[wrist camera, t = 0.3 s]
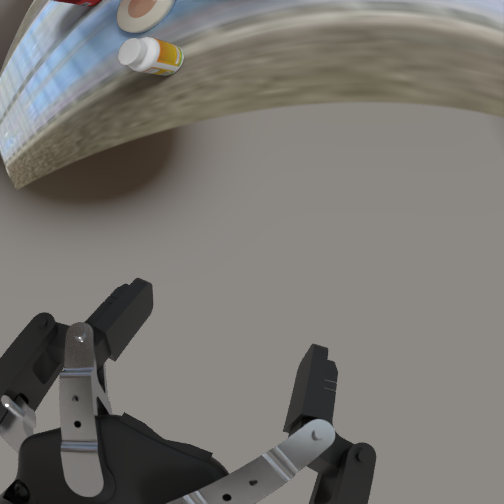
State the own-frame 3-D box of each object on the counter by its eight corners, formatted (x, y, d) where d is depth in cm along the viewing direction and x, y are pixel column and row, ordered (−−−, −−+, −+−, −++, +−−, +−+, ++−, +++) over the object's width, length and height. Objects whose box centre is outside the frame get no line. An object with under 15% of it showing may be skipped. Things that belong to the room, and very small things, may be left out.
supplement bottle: (172, 39, 31) (131, 26, 23) (191, 57, 32) (151, 45, 24) (150, 63, 34) (108, 57, 26) (168, 82, 35) (125, 77, 26)
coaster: (134, -17, 26) (129, -19, 25) (186, -25, 25) (181, -28, 23) (115, 34, 33) (109, 33, 31) (163, 32, 31) (158, 30, 30)
